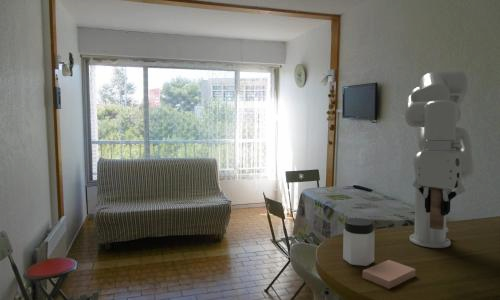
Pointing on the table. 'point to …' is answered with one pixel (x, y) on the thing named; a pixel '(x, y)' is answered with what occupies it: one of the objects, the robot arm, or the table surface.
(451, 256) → the table surface
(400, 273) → the tile
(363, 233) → the jar
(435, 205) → the stick
